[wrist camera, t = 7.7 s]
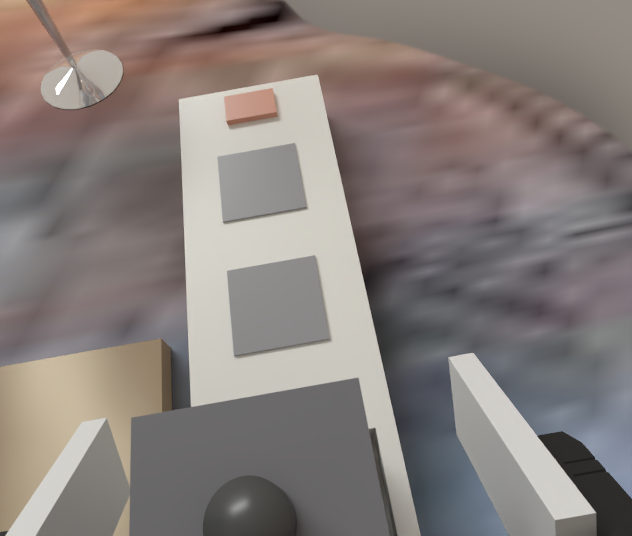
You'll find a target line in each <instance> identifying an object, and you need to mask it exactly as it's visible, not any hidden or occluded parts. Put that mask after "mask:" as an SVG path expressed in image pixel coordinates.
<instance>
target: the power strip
mask: <svg viewBox="0 0 632 536" xmlns="http://www.w3.org/2000/svg"><path fill="white" fill-rule="evenodd" d="M179 112H180V138H181V163H182V189H183V214H184V240H185V266H186V291H187V317H188V342H189V368H190V393H191V407H194V406H200V405H206V404H211V403H217V402H223V401H228V400H234V399H240V398H245V397H251V396H257V395H262V394H268V393H274V392H279V391H285V390H291V389H296V388H302V387H307V386H313V385H319V384H324V383H330V382H336V381H341V380H347V379H353V378H359V383H360V388H361V393H362V398H363V403H364V408H365V413H366V418H367V423H368V428H369V433H370V438H371V443H372V448H373V453H374V458H375V463H376V469H377V474H378V479H379V484H380V489H381V494H382V499H383V504H384V509H385V514H386V519H387V524H388V529H389V534H390V536H421V535H420V530H419V526H418V521H417V517H416V512H415V508H414V503H413V499H412V494H411V490H410V485H409V481H408V477H407V472H406V468H405V463H404V459H403V454H402V450H401V445H400V441H399V436H398V432H397V427H396V423H395V418H394V414H393V409H392V405H391V401H390V396H389V392H388V387H387V383H386V378H385V374H384V369H383V365H382V360H381V356H380V351H379V347H378V342H377V338H376V333H375V329H374V325H373V320H372V316H371V311H370V307H369V302H368V298H367V293H366V289H365V284H364V280H363V275H362V271H361V266H360V262H359V257H358V253H357V249H356V244H355V240H354V235H353V231H352V226H351V222H350V217H349V213H348V208H347V204H346V199H345V195H344V190H343V186H342V181H341V177H340V172H339V168H338V164H337V159H336V155H335V150H334V146H333V141H332V137H331V132H330V128H329V123H328V119H327V114H326V110H325V105H324V101H323V96H322V92H321V88H320V83H319V79H318V75H313V76H307V77H302V78H296V79H290V80H285V81H279V82H274V83H268V84H262V85H257V86H251V87H245V88H240V89H234V90H229V91H223V92H217V93H212V94H206V95H200V96H195V97H189V98H184V99H179Z"/></svg>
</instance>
